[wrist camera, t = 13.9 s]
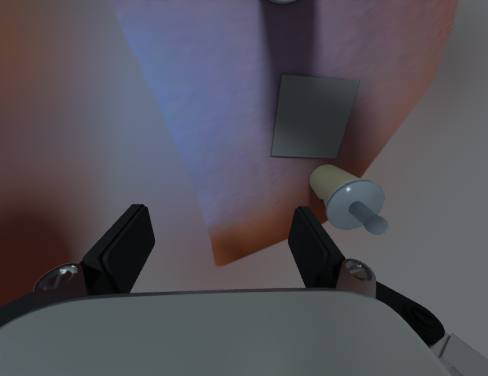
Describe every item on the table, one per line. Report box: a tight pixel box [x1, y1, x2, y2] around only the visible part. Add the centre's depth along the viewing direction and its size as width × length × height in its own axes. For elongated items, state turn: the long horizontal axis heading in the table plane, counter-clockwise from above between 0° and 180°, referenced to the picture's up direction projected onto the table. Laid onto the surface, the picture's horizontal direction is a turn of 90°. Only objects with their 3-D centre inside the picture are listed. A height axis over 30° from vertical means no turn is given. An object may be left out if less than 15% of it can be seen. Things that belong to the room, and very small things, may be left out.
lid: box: [326, 180, 388, 235], centre depth 31 cm, size 11×11×8 cm
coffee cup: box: [309, 164, 362, 207], centre depth 39 cm, size 9×9×12 cm
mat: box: [271, 74, 360, 159], centre depth 38 cm, size 16×16×1 cm
